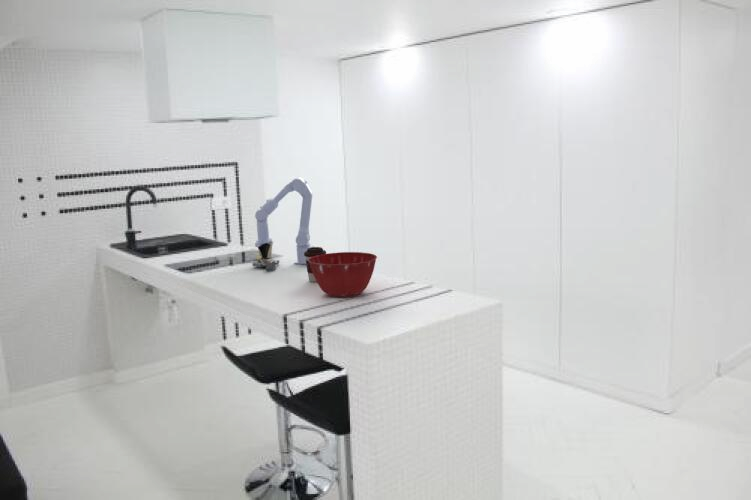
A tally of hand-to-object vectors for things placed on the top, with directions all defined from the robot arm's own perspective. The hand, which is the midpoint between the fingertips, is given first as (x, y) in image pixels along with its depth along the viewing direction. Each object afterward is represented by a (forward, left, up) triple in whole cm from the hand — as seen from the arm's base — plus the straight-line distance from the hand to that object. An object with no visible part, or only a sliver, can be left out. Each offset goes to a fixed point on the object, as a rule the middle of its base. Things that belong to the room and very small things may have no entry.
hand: (264, 258), depth 349 cm
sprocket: (-4, +6, -2) cm, 7 cm away
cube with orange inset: (-11, +14, -3) cm, 18 cm away
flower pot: (+8, -16, -3) cm, 19 cm away
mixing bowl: (-66, +53, -3) cm, 84 cm away
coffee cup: (-44, +32, -3) cm, 54 cm away
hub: (-4, +6, -3) cm, 8 cm away
